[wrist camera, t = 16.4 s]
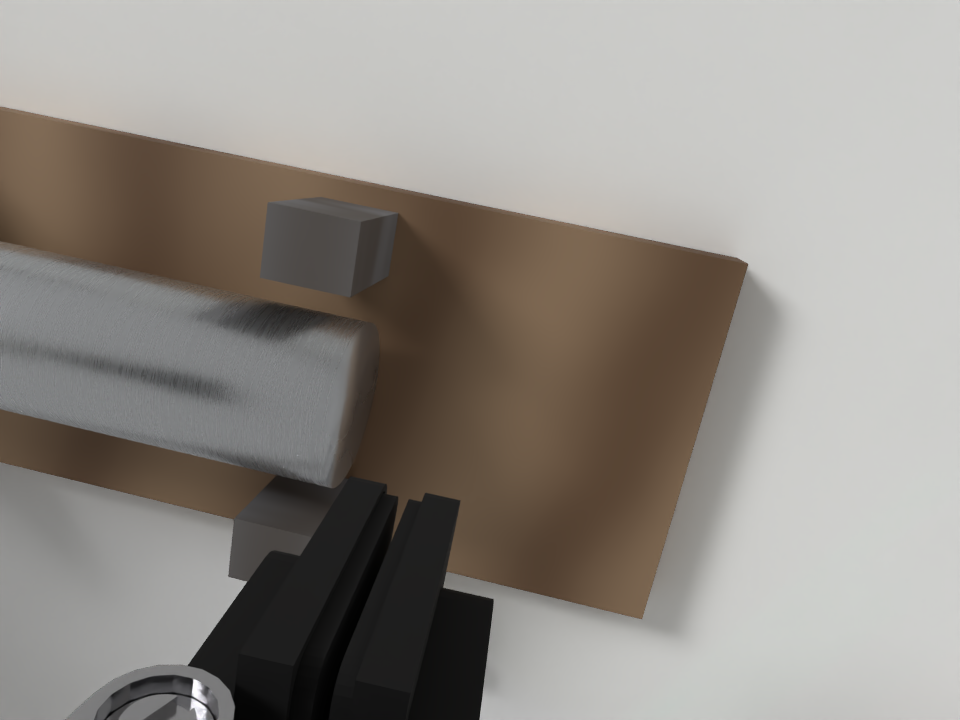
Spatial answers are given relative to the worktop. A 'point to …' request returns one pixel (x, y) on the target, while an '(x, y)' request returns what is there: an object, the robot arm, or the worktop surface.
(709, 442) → the worktop surface
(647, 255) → the brown board
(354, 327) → the tube
